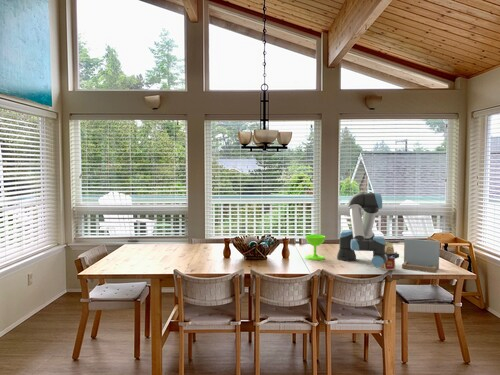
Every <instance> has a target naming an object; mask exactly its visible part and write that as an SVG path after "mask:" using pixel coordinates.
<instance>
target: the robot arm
mask: <svg viewBox="0 0 500 375" xmlns="http://www.w3.org/2000/svg"><path fill="white" fill-rule="evenodd" d="M382 209H383V198H382V195H381V193H379V192H358V193H355V194H353V195H352V196H351V197H350V198H349V200H348V204H347V210H348V212H349V216H350V222H351V224H350V225H351V229H345V230H341V231H340V232H339V244H338V246H339V249H338V252H337V255H336V259H338V260H339V261H345V262H347V261H349V262H350V261H351V262H352V261H353V262H354V261H356V260H357V255H356V252H357V251H358V252H372V258H371V264H372V266H374V267H375V268H379V267H381V266H383V264H385V263H386V262H387V261H388V260H389V259H390V258H392V259H393V260H394V259H395V260H396V259H399V257H400V254H399V253H398V251H394V254H387V253H386V252H385V242H386V239H385V237H383V236H375V233H374V232H373V228H374V222H375V219H376V214H377V213H378V212H379V210H382ZM362 210H363V215H362ZM355 251H356V252H355Z"/></svg>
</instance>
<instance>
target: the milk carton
mask: <svg viewBox="0 0 500 375" xmlns="http://www.w3.org/2000/svg"><path fill="white" fill-rule="evenodd" d="M385 252H386V253H387V254H394V253H395V248H394V242H388V241H385ZM378 268H379V269H381V270H383V271H394V270H396V259H394V260H393V259H392V258H390V259H389V260H388V261H387V262H386V263H385V264H383V266H381V267H378ZM390 269H392V270H390Z"/></svg>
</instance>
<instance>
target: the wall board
mask: <svg viewBox="0 0 500 375" xmlns="http://www.w3.org/2000/svg"><path fill="white" fill-rule="evenodd" d="M403 240H404V243H403V246H404V247H403V263H402V264H401V269H402V268H404V270H410V269H411V271H418V270H420V271H419V272H426V271H427V273H436V272H437V271H438V270H439V269H440V247H441V243H440V240H439V241H438V240H437V241H436V240H429V239H426V240H425V239H415V238H404V239H403Z"/></svg>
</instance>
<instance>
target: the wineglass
mask: <svg viewBox="0 0 500 375" xmlns="http://www.w3.org/2000/svg"><path fill="white" fill-rule="evenodd" d="M305 240H306V242H307V243H308V244H309V245H310V246H312V247H313V254H308V255H306V256H305V257H304V259H306V260H311V261H324V260H325V257H324V256H322V255H319V254H317V247H319V246H321V245H322V244H323V243H324V242H325V240H326V236H325V235H321V234H307V235H305Z"/></svg>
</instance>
